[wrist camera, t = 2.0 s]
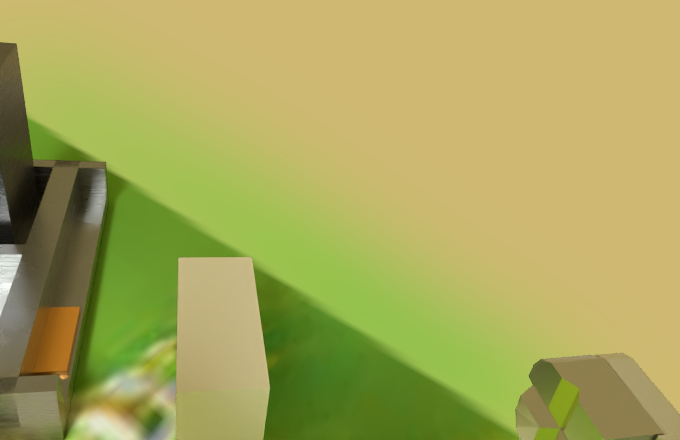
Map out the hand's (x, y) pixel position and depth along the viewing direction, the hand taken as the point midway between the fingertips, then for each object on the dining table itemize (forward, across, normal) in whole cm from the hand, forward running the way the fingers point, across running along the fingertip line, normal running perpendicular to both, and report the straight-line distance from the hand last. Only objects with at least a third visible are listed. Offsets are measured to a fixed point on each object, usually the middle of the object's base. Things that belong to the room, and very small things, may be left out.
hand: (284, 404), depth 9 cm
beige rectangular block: (+12, 0, +20) cm, 23 cm away
